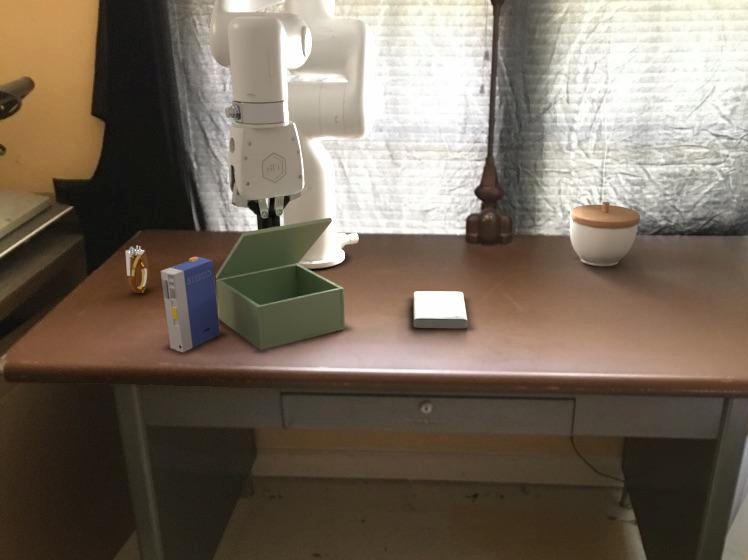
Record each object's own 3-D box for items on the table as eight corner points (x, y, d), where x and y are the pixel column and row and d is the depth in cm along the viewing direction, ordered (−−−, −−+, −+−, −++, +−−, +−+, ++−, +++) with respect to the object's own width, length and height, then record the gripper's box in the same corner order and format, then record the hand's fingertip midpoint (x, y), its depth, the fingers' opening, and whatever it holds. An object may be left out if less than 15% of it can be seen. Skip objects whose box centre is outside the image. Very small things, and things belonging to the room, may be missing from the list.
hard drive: (467, 319, 129) (463, 290, 140) (413, 318, 129) (413, 290, 140) (467, 329, 130) (462, 300, 141) (413, 328, 130) (413, 299, 141)
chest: (344, 329, 129) (343, 288, 126) (261, 350, 122) (257, 307, 119) (299, 302, 139) (297, 263, 136) (219, 319, 132) (216, 279, 129)
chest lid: (332, 220, 124) (331, 217, 124) (244, 236, 116) (242, 232, 116) (298, 263, 136) (297, 259, 136) (216, 279, 129) (215, 275, 129)
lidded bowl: (642, 257, 162) (650, 200, 157) (620, 275, 152) (628, 214, 147) (580, 246, 168) (586, 191, 163) (555, 263, 158) (560, 204, 153)
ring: (141, 300, 140) (135, 253, 136) (123, 299, 140) (116, 252, 136) (158, 286, 146) (152, 241, 142) (140, 285, 146) (134, 240, 142)
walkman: (206, 331, 128) (198, 254, 123) (220, 334, 127) (212, 257, 121) (168, 348, 122) (158, 268, 117) (182, 352, 121) (172, 272, 115)
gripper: (223, 121, 111) (234, 256, 120) (321, 112, 119) (325, 239, 127) (200, 114, 117) (213, 243, 125) (296, 106, 125) (301, 228, 133)
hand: (269, 241), depth 126 cm, fingers closed
